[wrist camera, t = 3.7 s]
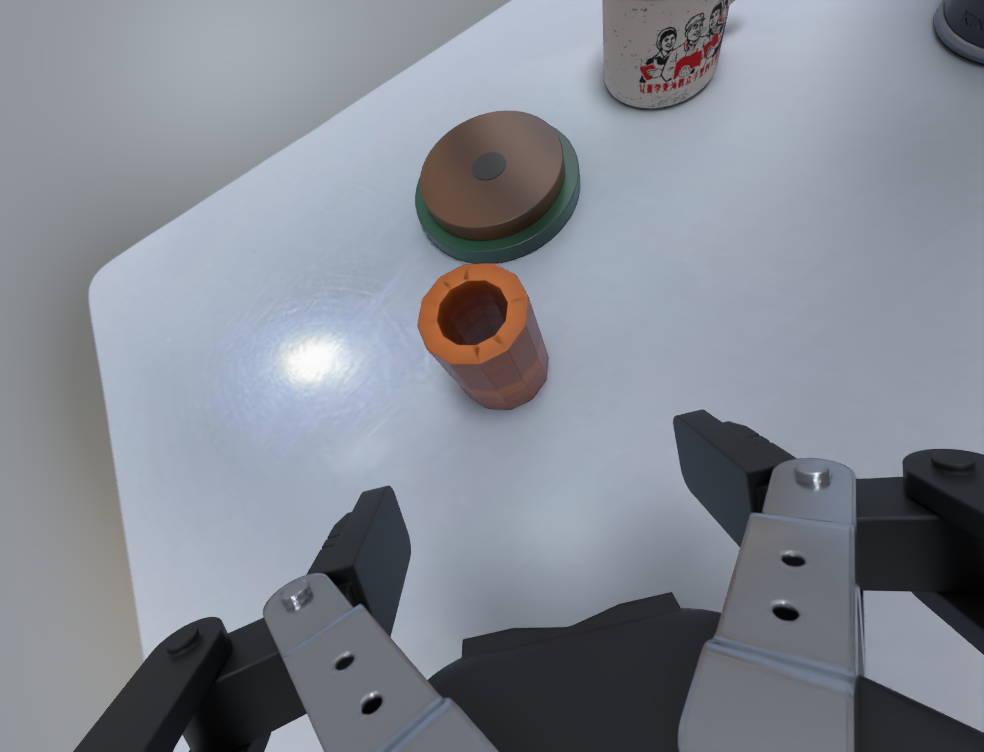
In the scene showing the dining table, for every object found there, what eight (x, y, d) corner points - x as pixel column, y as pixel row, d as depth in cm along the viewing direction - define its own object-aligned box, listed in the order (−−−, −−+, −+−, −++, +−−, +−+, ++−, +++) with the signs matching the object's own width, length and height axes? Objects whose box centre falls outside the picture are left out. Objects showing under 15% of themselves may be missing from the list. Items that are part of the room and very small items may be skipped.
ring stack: (509, 109, 40) (501, 76, 38) (616, 185, 35) (616, 153, 32) (393, 202, 40) (377, 176, 37) (484, 295, 34) (472, 272, 32)
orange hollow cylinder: (525, 313, 33) (500, 245, 26) (563, 384, 30) (547, 330, 23) (449, 351, 33) (404, 295, 26) (481, 424, 31) (440, 384, 24)
